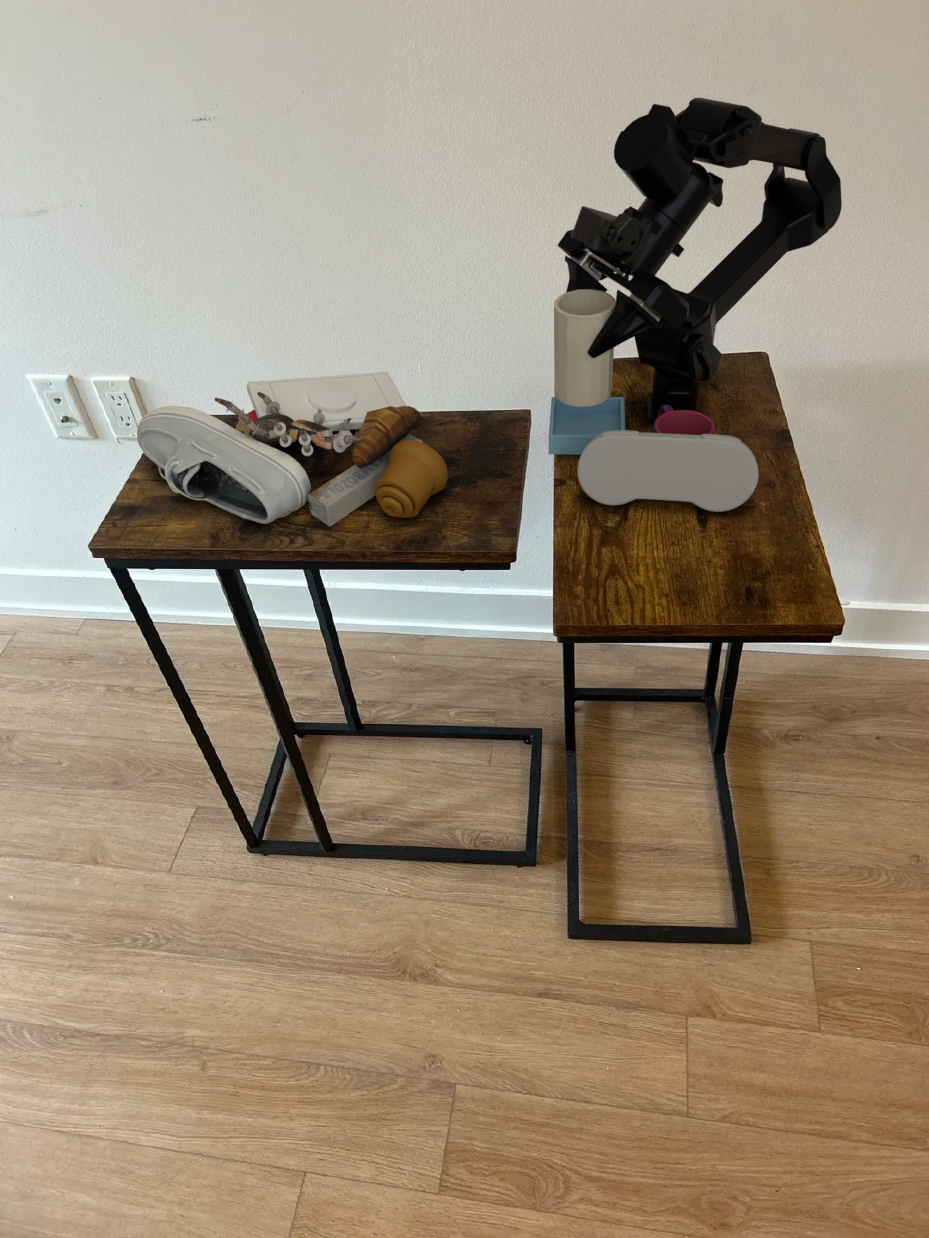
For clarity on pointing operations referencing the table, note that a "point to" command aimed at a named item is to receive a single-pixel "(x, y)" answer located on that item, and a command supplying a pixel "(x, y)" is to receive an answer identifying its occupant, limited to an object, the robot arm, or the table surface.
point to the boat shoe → (222, 464)
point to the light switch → (328, 397)
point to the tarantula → (293, 428)
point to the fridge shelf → (582, 424)
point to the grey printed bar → (348, 490)
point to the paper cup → (581, 348)
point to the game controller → (668, 469)
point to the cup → (682, 422)
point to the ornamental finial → (410, 478)
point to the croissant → (383, 432)
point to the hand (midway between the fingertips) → (573, 343)
